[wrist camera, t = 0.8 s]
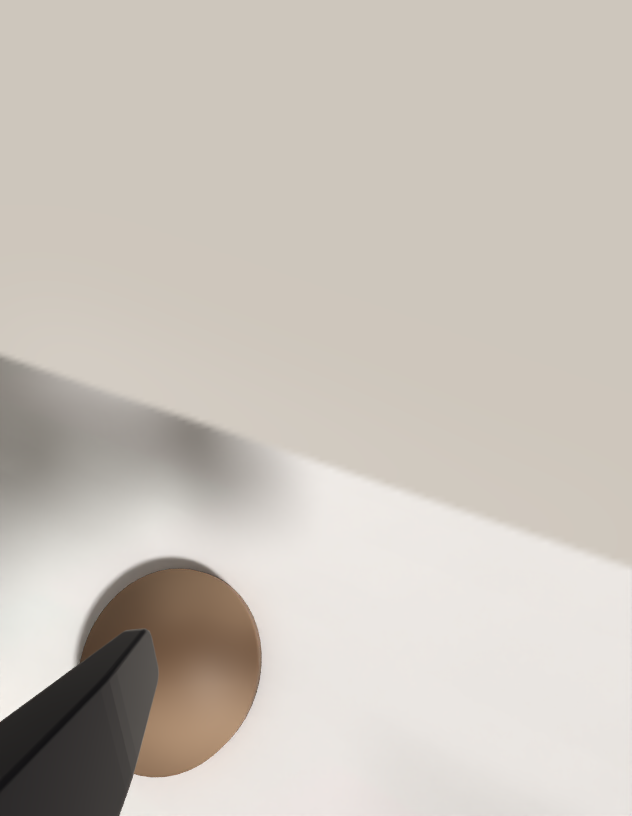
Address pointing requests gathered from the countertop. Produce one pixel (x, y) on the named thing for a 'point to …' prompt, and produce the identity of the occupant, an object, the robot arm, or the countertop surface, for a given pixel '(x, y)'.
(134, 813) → the countertop surface
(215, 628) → the walnut coaster
